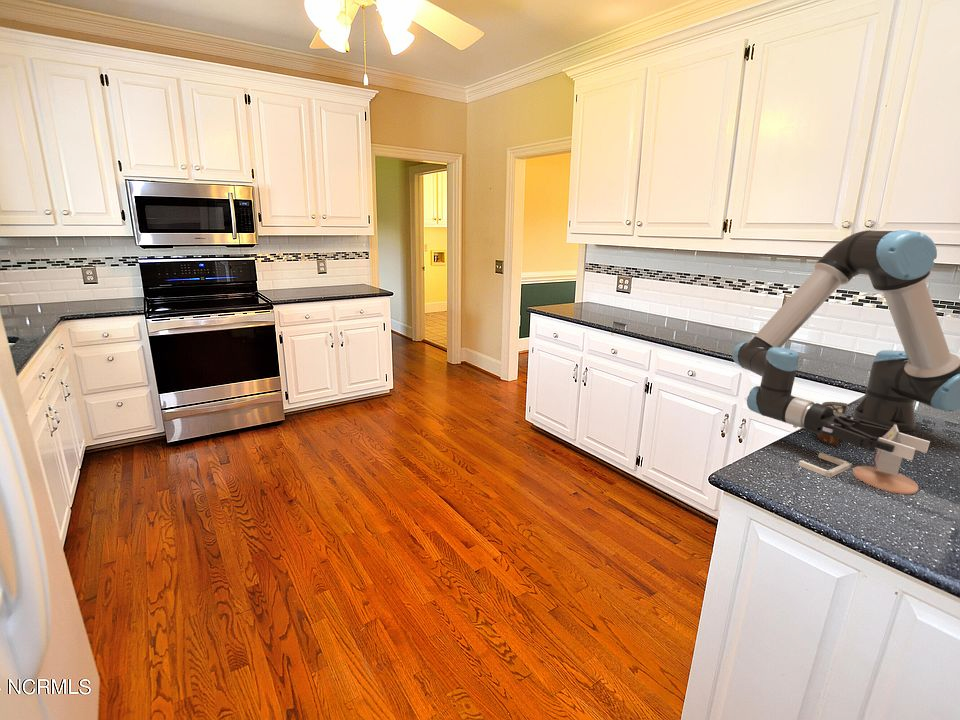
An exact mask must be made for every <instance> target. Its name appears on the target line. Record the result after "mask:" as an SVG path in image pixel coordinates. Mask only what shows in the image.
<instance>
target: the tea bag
mask: <svg viewBox="0 0 960 720" xmlns="http://www.w3.org/2000/svg"><path fill="white" fill-rule="evenodd" d="M899 432H900V431H898V428H897V425H895V424H894V425H893V427H892V428H891V429H890V430H889V431H888V432H887V433H886V434H885V435H884V436H883V437H882V438H884V439H887V440H890V441H893V442H896V443H900V444H902V443H901V441H900V437H899ZM902 460H903V458H902V457H899V456H896V455H893V454H890V453H887V452H884V451H881V450H878V449H877V450H876V454H875V459H874V464H875V467H876V470H877V471H881V472H885V473H889V474H893V475H897V474H898V473H899V470H900V466H901V464H902Z"/></svg>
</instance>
